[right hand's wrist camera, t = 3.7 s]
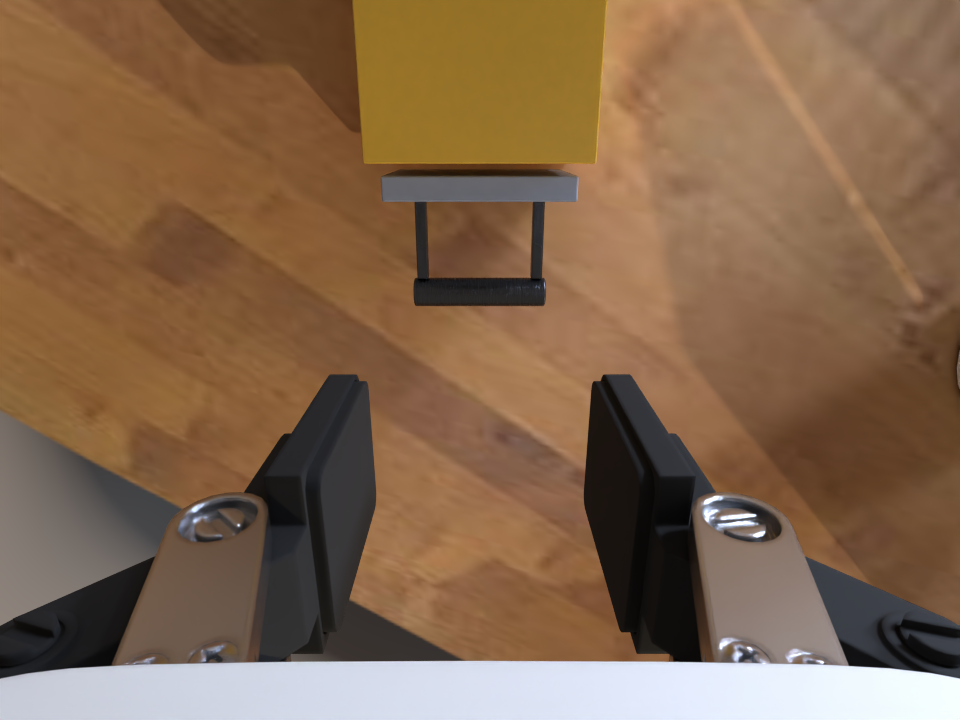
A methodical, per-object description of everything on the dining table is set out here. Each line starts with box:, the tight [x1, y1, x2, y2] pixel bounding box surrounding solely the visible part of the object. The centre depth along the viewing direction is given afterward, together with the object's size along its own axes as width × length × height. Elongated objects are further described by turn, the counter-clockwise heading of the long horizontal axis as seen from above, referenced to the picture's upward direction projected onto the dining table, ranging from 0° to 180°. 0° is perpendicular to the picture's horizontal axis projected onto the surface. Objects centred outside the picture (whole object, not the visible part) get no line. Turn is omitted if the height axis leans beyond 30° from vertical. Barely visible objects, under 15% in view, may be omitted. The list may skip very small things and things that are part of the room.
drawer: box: [381, 170, 578, 306], centre depth 29 cm, size 24×10×7 cm, turn 0°
